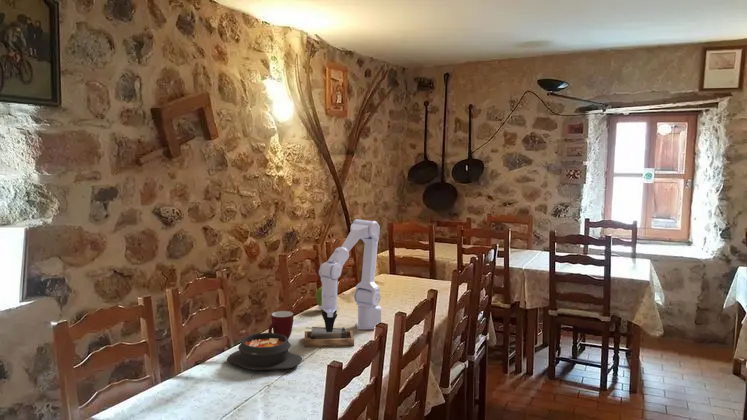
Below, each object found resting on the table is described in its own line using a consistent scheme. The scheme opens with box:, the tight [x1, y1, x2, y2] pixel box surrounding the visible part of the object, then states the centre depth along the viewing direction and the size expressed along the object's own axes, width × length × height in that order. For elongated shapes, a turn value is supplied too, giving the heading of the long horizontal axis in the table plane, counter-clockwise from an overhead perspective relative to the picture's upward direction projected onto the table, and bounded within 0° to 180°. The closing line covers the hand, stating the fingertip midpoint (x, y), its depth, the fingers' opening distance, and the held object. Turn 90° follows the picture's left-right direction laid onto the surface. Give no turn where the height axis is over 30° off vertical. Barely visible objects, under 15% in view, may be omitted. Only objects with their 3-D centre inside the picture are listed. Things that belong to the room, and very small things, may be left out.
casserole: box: [226, 332, 303, 371], centre depth 177 cm, size 25×19×8 cm
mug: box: [267, 310, 294, 340], centre depth 199 cm, size 10×8×10 cm
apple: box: [315, 286, 322, 312], centre depth 239 cm, size 9×8×12 cm
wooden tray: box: [304, 329, 355, 348], centre depth 199 cm, size 18×10×3 cm, turn 97°
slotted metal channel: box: [311, 326, 348, 339], centre depth 199 cm, size 13×2×4 cm, turn 97°
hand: (329, 330), depth 199 cm, fingers closed on slotted metal channel, 2 cm apart
